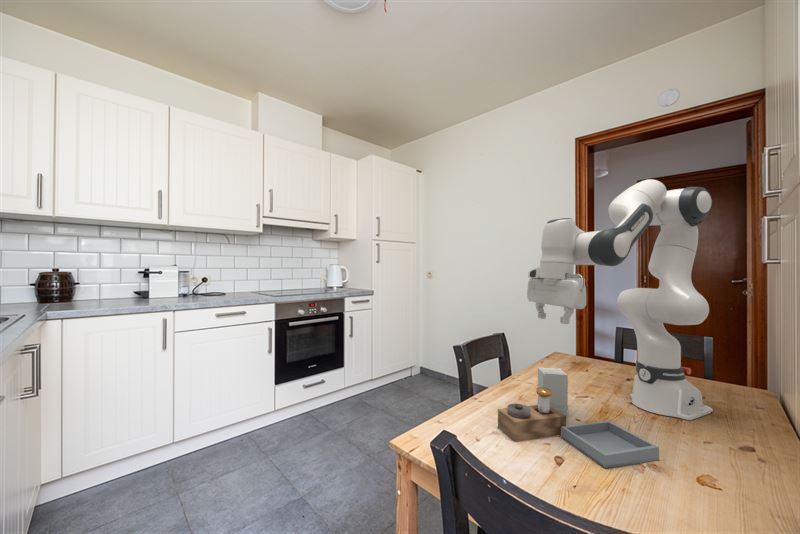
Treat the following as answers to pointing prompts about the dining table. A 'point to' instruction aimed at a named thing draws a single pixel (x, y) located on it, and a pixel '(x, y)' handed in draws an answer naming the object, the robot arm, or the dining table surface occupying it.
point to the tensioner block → (529, 422)
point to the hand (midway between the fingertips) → (552, 321)
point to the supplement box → (555, 387)
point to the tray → (609, 444)
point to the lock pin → (543, 400)
